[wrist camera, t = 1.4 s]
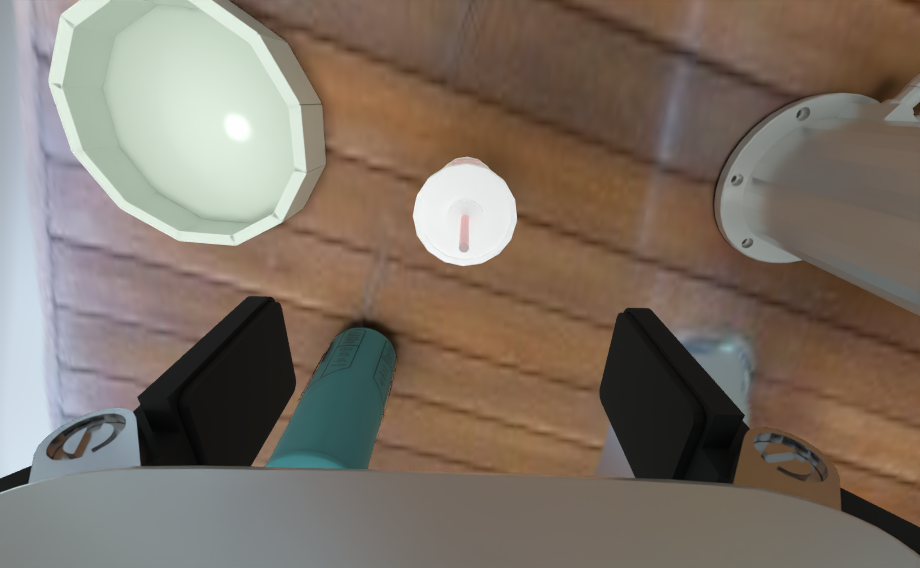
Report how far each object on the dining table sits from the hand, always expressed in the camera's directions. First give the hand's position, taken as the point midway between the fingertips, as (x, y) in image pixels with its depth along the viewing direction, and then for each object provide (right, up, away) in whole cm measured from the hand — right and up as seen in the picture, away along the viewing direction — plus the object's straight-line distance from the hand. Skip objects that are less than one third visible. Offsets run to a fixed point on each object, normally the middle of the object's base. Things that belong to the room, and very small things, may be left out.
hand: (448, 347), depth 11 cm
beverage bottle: (-9, -4, +27) cm, 28 cm away
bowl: (-18, +14, +18) cm, 29 cm away
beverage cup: (+1, +10, +20) cm, 22 cm away
